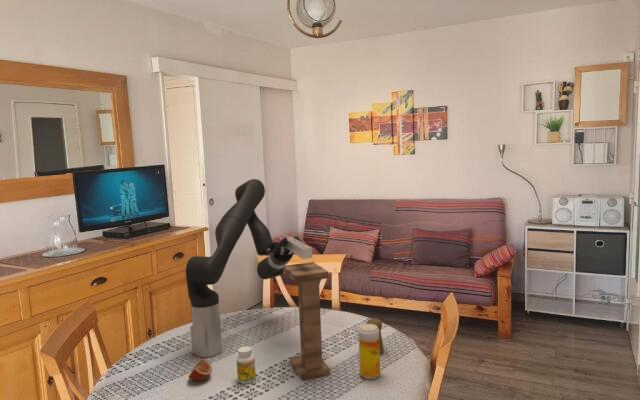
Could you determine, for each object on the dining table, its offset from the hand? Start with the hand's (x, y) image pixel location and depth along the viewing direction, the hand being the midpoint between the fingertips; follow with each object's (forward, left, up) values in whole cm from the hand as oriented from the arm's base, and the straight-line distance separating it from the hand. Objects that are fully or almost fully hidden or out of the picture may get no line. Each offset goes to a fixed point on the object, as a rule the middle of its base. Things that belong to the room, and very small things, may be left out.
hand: (291, 239), depth 153 cm
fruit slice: (-22, -23, -39) cm, 51 cm away
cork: (+25, +8, -39) cm, 47 cm away
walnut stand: (+8, -9, -39) cm, 41 cm away
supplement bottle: (-8, -20, -39) cm, 45 cm away
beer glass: (+27, -8, -39) cm, 48 cm away
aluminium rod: (+4, -4, -3) cm, 6 cm away
